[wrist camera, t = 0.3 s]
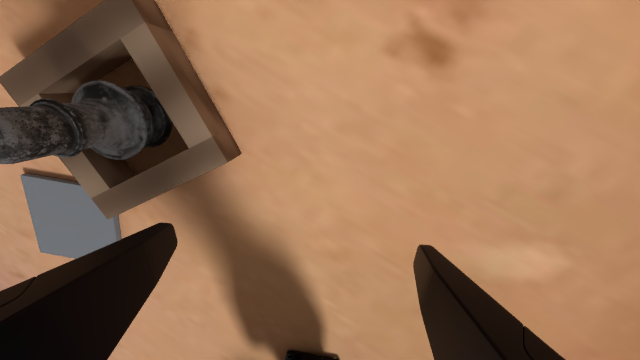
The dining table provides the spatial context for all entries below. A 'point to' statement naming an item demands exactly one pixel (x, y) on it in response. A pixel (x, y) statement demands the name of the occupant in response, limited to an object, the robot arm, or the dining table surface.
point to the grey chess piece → (85, 124)
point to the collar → (161, 74)
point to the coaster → (67, 217)
